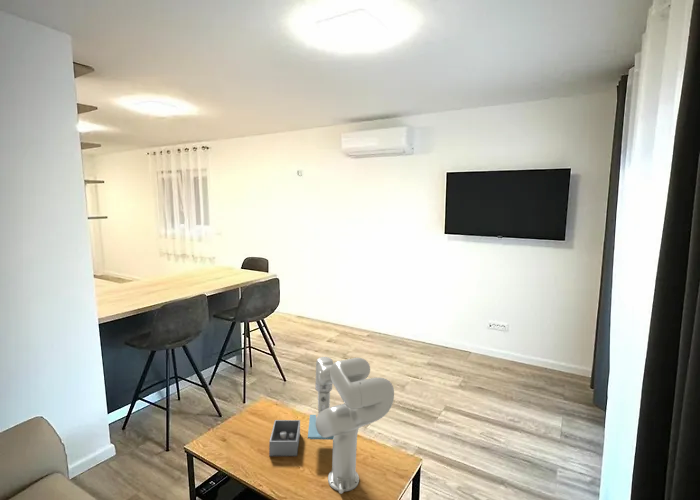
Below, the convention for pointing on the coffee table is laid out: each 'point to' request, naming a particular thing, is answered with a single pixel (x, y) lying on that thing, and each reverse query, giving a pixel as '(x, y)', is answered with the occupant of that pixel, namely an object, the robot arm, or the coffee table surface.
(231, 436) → the coffee table surface
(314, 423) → the tub lid
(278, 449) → the parts tub
